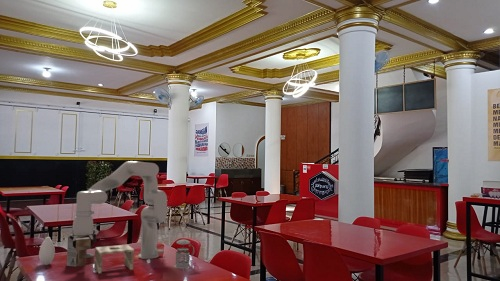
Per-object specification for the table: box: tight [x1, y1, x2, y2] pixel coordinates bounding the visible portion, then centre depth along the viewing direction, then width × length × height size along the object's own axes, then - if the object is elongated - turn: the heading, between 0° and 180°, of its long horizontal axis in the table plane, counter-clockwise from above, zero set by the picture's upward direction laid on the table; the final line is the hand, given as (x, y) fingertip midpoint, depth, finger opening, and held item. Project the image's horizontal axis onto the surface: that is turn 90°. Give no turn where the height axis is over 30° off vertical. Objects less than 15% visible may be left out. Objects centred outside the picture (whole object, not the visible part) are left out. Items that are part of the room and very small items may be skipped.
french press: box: [173, 222, 195, 269], centre depth 223 cm, size 10×12×25 cm
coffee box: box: [66, 235, 87, 267], centre depth 220 cm, size 9×6×16 cm
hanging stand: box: [93, 244, 135, 274], centre depth 213 cm, size 18×14×11 cm
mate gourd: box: [71, 223, 100, 259], centre depth 239 cm, size 16×14×20 cm
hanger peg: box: [75, 237, 91, 267], centre depth 206 cm, size 7×7×14 cm
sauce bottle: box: [38, 232, 56, 266], centre depth 218 cm, size 8×8×18 cm
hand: (82, 246), depth 206 cm, fingers closed on hanger peg, 7 cm apart
